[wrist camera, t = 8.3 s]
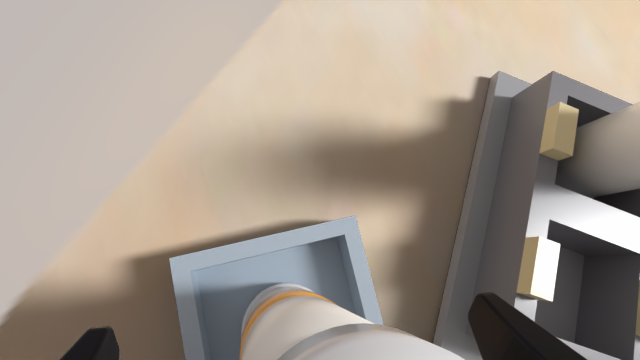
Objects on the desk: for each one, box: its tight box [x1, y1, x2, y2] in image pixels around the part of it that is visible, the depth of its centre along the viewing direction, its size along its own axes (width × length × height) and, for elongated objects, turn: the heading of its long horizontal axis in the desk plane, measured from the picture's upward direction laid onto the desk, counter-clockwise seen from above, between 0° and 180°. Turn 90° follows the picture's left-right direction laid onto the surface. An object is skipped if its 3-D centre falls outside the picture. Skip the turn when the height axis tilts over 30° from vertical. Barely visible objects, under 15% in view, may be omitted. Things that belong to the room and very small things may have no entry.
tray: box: [169, 216, 384, 360], centre depth 16 cm, size 8×8×2 cm
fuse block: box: [433, 71, 640, 360], centre depth 18 cm, size 16×9×5 cm, turn 161°
